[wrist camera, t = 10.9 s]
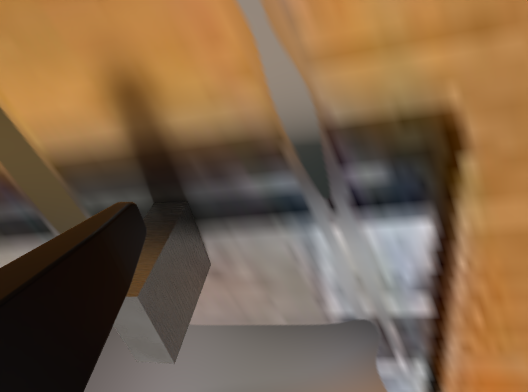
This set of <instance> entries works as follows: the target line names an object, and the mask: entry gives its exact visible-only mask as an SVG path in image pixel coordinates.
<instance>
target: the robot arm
mask: <svg viewBox="0 0 528 392" xmlns="http://www.w3.org/2000/svg"><path fill="white" fill-rule="evenodd" d="M146 235H147V230H146V226H145V223H144V221H143V219H142V216H141V214H140V211H139V209H138V207H137V205H136V204H135V203H133V202H118V203H116V204H114V205H112V206H110V207H109V208H107V209H105V210H103V211H101V212H100V213H98V214H96V215H94V216H92V217H91V218H89V219H87V220H85V221H84V222H82V223H80V224H78V225H77V226H75V227H73V228H71V229H69V230H67V231H66V232H64V233H62V234H60V235H59V236H57V237H55V238H53V239H51V240H50V241H48V242H46V243H44V244H42V245H41V246H39V247H37V248H35V249H34V250H32V251H30V252H28V253H26V254H25V255H23V256H21V257H19V258H17V259H16V260H14V261H12V262H10V263H9V264H7V265H5V266H3V267H1V268H0V392H84V390H85V388H86V385H87V383H88V381H89V378H90V376H91V374H92V372H93V370H94V367H95V365H96V363H97V361H98V358H99V356H100V354H101V352H102V349H103V347H104V345H105V343H106V340H107V338H108V336H109V333H110V331H111V329H112V327H113V325H114V322H115V320H116V318H117V316H118V313H119V311H120V309H121V307H122V304H123V302H124V300H125V298H126V295H127V293H128V290H129V288H130V285H131V282H132V279H133V276H134V273H135V270H136V267H137V264H138V261H139V258H140V255H141V251H142V248H143V245H144V242H145V239H146Z"/></svg>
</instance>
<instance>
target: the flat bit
mask: <svg viewBox="0 0 528 392" xmlns="http://www.w3.org/2000/svg"><path fill="white" fill-rule="evenodd" d="M143 221H144V223H145V226H146V230H147V235H146V239H145V242H144V245H143V248H142V251H141V255H140V258H139V261H138V264H137V267H136V270H135V273H134V276H133V279H132V282H131V285H130V288H129V290H128V293H127V295H126V298H125V300H124V302H123V304H122V307H121V309H120V311H119V313H118V316H117V318H116V320H115V322H114V325H113V326H114V328H115V329H116V331H117V332H118V334H119V335H120V337H121V338H122V340H123V342H124V343H125V345H126V346H127V348H128V349H129V351H130V352H131V354H132V355H133V357H134V358H135V360H136V361H137V362H149V363H169V364H175V362H176V359H177V356H178V353H179V351H180V348H181V345H182V342H183V339H184V337H185V334H186V331H187V329H188V326H189V323H190V321H191V318H192V315H193V312H194V310H195V307H196V304H197V301H198V299H199V296H200V293H201V290H202V288H203V285H204V282H205V279H206V277H207V274H208V271H209V269H210V266H211V264H210V261H209V258H208V255H207V253H206V250H205V247H204V244H203V242H202V239H201V236H200V234H199V231H198V228H197V225H196V223H195V220H194V217H193V214H192V212H191V209H190V206H189V203H188V201H186V202H168V203H154V204H153V206H152V207H151V209H150V210H149V212H148V213H147V215H146V216H145V218H144V220H143Z"/></svg>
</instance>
